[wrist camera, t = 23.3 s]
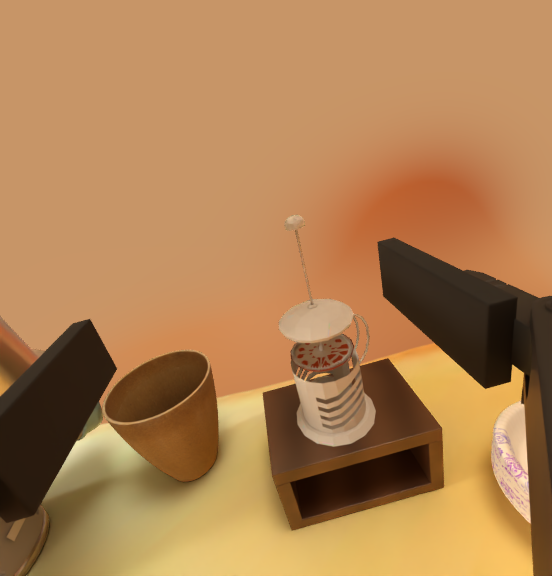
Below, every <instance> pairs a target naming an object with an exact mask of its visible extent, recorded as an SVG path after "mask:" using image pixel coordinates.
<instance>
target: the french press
mask: <svg viewBox="0 0 552 576" xmlns="http://www.w3.org/2000/svg"><path fill="white" fill-rule="evenodd" d="M303 226H305V221H304V219H303V218H302V217H300V216H299V215H293V216H290V217H289V218H287V220H286V221H285V228H286V230H295V232H296V237H297V241H298V245H299V250H300V255H301V259H302V264H303V269H304V273H305V278H306V283H307V287H308V292H309V297H310V300H308V301H306V302H303V303H301V304H299V305H296V306H294V307H292V308H291V309H290V310H289V311H287V312H286V313H285V314H284V315H283V316H282V318H281V319H280V321H279V330H280V331H281V332H282V334H283V335H284V336H285V337H286V338H287V339H290V340H293V341H295V342H297V343H296V344H295V345H294V347H293V348H292V350H291V367H292V372H293V376H294V380H295V383H296V387H297V391H298V395H299V398H300V402H301V403H300V406H299V408H298V411H297V423H298V426H299V428H300V429H301V431H302V432H303V434H304V435H305V436H306V437H308V438H309V439H311V440H313V441H314V442H316V443H317V444H323V445H328V446H333V447H334V446H340V445H346V444H351V443H353V442H355V441H357V440H358V439H360V438H362V437H364V436H365V435H366V434H367V432H368V431H369V430H370V428H371V427H372V426H373V424H374V420H375V413H376V410H375V407H374V405H373V402H372V400H371V398H369V397H368V396H367V395H366V394H365V393H364V389H363V383H362V376H361V370H360V363H361V362H362V360H363V359H364V357H365V355H366V353H367V351H368V345H369V330H368V325H367V323H366V321H365V320H364V318H363V317H362V316H360V315H358V314H353V312H352V310H351V308H350V307H349V306H347V305H346V304H344V303H342V302H339V301H336V300H332V299H312V297H311V293H310V288H309V284H308V278H307V274H306V269H305V264H304V260H303V255H302V250H301V245H300V241H299V236H298V231H297V229H299V228H302V227H303ZM355 316H357V317H359V318H361V319H362V321H363V322H364V324H365V326H366V331H367V344H366V350H365V352H364V354H363V356H362V358H361V360H360V361H359V358H358V355H357V352H356V347H357V344H358V340H359V327H358V322H357V320H356V318H355ZM352 319H354V321H355V323H356V328H357V340H356V346H355V348H354V345H353V343H352V340H351V339H350V338H348V337H347V336H346V335H344V334H342V333H343V332H344V331H345V330H346V329H347V328H348V327H349V326H350V324H351V321H352ZM351 357H352V362H353V368H354V370H353V371H352V372H351V373H350V369H349V364H348V361H349V360H350V358H351ZM298 367H300V371H299V373H298V376H296V372H297V369H298ZM303 369H305V372H304V374H303V376H302V378H301V379H300V375H301V373H302V371H303ZM309 371H314V372H312V373H311V374H309V376H308V378H307V380H306V381H304V379H305V376H306V374H307V372H309ZM320 373H330V374H333V375H334V377H330V376H323V377H317V378H316V379H315V380H313V381H312V382H309V380H310V379H311V378H312V377H314V376H315V375H316V374H320ZM354 378H355V380H356V382H355V383H354V385H353V386H352V381H353V379H354ZM356 387H357V388H356Z"/></svg>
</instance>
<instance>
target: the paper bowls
mask: <svg viewBox="0 0 552 576" xmlns="http://www.w3.org/2000/svg"><path fill="white" fill-rule="evenodd" d="M491 459H492V467H493V471H494V475H495V477H496V479H497V482H498V484H499V486H500V488H501V489H502V491H503V493H504V494H505V496H506V497H507V498H508V500H509V501H510V502H511V504H512V505H513V506H514V507H515V508H516V510H517V511H518V512H519V513H520V514H521V515H522V516H523V517H524V518H525V519H526V520H527V521H528V522H529V523H530V524H531V519H530V501H529V483H528V464H527V446H526V427H525V409H524V404H521V401H519V402H516V403H514V404H512V405H510V406H509V407H507V408H506V409H504V410H503V411H502V412H501V413H500V415H499V416H498V418H497V420H496V422H495V424H494V428H493V440H492V451H491Z"/></svg>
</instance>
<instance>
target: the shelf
mask: <svg viewBox="0 0 552 576" xmlns="http://www.w3.org/2000/svg"><path fill="white" fill-rule="evenodd" d="M353 370H354V368H351V369H350V373H351V372H352V371H353ZM360 370H361V376H362V383H363V389H364V393H365V394H366V395H367V396H368V397H369V398H371V400H372V402H373V405H374V407H375V410H376V413H375V420H374V424H373V426H372V427H371V428H370V430H369V431H368V432H367V434H366V435H365V436H364V437H362V438H360V439H358V440H357V441H355V442H353V443H351V444H346V445H340V446H334V447H333V446H328V445H323V444H317V443H316V442H314V441H313V440H311V439H309V438H308V437H306V436H305V435H304V434H303V432H302V431H301V429H300V428H299V426H298V423H297V411H298V408H299V406H300V403H301V402H300V398H299V395H298V391H297V387H296V384H293V385H289V386H286V387H282V388H278V389H275V390H271V391H267V392H264V393H263V400H264V409H265V418H266V426H267V435H268V444H269V453H270V461H271V470H272V477H273V479H274V482H275V485H276V488H277V491H278V493H279V496H280V499H281V502H282V504H283V507H284V510H285V513H286V515H287V518H288V521H289V524H290V527H291V529H292V530H295V529H299V528H302V527H305V526H309V525H312V524H316V523H319V522H323V521H327V520H330V519H334V518H337V517H341V516H344V515H348V514H351V513H355V512H358V511H362V510H365V509H369V508H372V507H376V506H379V505H383V504H387V503H390V502H394V501H397V500H401V499H404V498H408V497H411V496H415V495H418V494H422V493H425V492H429V491H433V490H436V489H440V488H443V487H444V472H443V442H442V427H441V426H440V425H439V424H438V422H437V421H436V420H435V418H434V417H433V416H432V415H431V413H430V412H429V411H428V409H427V408H426V407H425V405H424V404H423V403H422V402H421V400H420V399H419V398H418V396H417V395H416V394H415V393H414V391H413V390H412V389H411V387H410V386H409V385H408V383H407V382H406V381H405V380H404V378H403V377H402V376H401V374H400V373H399V372H398V371H397V369H396V368H395V367H394V365H393V364H392V363H391V361H390V360H389V359H384V360H380V361H377V362H373V363H369V364H366V365H362V366H360ZM326 376H330V377H334V375H333V374H329V375H326ZM322 377H323V376H322ZM315 379H316V378H315ZM315 379H311V380H309V382H312V381H313V380H315ZM355 382H356V380H355V378H354V379H353V381H352V386H353V385H354V383H355ZM356 388H357V387H356Z"/></svg>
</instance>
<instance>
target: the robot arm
mask: <svg viewBox="0 0 552 576" xmlns="http://www.w3.org/2000/svg"><path fill="white" fill-rule="evenodd" d="M378 251H379V261H380V270H381V279H382V288H383V296H384V297H385V298H386V299H387V300H388V301H389V302H390V303H391V304H392V305H394V306H395V307H396V308H397V309H398V310H399V311H400V312H401V313H402V314H403V315H405V316H406V317H407V318H408V319H409V320H410V321H411V322H412V323H413V324H414V325H416V326H417V327H418V328H419V329H420V330H421V331H422V332H423V333H424V334H425V335H427V336H428V337H429V338H430V339H431V340H432V341H433V342H434V343H435V344H436V345H438V346H439V347H440V348H441V349H442V350H443V351H444V352H445V353H446V354H447V355H449V356H450V357H451V358H452V359H453V360H454V361H455V362H456V363H457V364H458V365H460V366H461V367H462V368H463V369H464V370H465V371H466V372H467V373H468V374H469V375H471V376H472V377H473V378H474V379H475V380H476V381H477V382H478V383H479V384H480V385H482V386H483V387H484V388H485V389H486V388H490V387H494V386H497V385H501V384H504V383H508V382H511V371H512V364H513V365H514V366H515V367H517V368H518V369H519V370H521V371H522V372H524V379H523V389H522V398H521V404H524V409H525V427H526V446H527V464H528V483H529V501H530V519H531V538H532V556H533V575H534V576H552V296H548V297H542V298H538V297H536V296H533V295H531V294H529V293H527V292H524V291H522V290H520V289H518V288H516V287H513V286H511V285H509V284H508V285H506V283H504V282H502V281H500V280H496V278H493V277H491V276H489V275H487V274H484V273H480V272H476V271H471V270H465V271H462V270H460V269H458V268H456V267H454V266H452V265H450V264H448V263H446V262H443V261H442V260H439V259H437V258H435V257H433V256H431V255H429V254H427V253H425V252H423V251H421V250H419V249H416V248H414V247H412V246H410V245H408V244H406V243H404V242H402V241H400V240H398V239H396V238H391V239H387V240H383V241H379V242H378ZM116 370H117V368H116V366H115V364H114V362H113V360H112V358H111V357H110V355H109V353H108V351H107V350H106V347H105V346H104V344H103V342H102V340H101V338H100V336H99V335H98V333H97V331H96V329H95V327H94V326H93V324H92V322H91V320H90V319H88V320H84V321H81V322H77V323H73V324H72V325H71V326H70V327H69V328H68V329H67V330H66V331H65V332H64V333H63V334H62V335H61V336H60V337H59V338H58V339H57V340H56V341H55V342H54V343H53V344H52V345H51V346H50V347H49V348H48V349H47V350H46V351H43V350H36V349H30V347H29V346H28V345H27V344H26V343H25V342H24V341H23V340H22V339H21V338H20V337H19V336H18V335H17V333H16V332H15V331H14V330H13V329H12V328H11V327H10V326H9V325H8V324H7V323H6V322H5V321H4V320H3V319H2V317H1V316H0V576H25V575H26V574H27V572H28V571H29V570H30V568H31V567H32V565H33V564H34V562H35V560H36V559H37V557H38V555H39V553H40V552H41V550H42V548H43V545H44V543H45V541H46V538H47V535H48V531H49V524H50V522H49V515H48V513H47V512H46V510H45V509H44V508H43V507H42V505H41V502H42V500H43V499H44V497H45V495H46V493H47V492H48V490H49V488H50V486H51V485H52V483H53V481H54V479H55V478H56V476H57V474H58V472H59V470H60V469H61V467H62V465H63V463H64V462H65V460H66V458H67V456H68V455H69V453H70V451H71V449H72V447H73V446H74V444H75V442H76V441H78V440H80V439H82V438H83V437H85V436H86V434H87V433H89V432H90V431H92V430H93V429H95V428H96V427H98V426H99V425H100V423H101V422H102V420H103V413H102V408H101V406H100V403H99V400H100V398H101V396H102V395H103V393H104V391H105V389H106V387H107V386H108V384H109V382H110V380H111V379H112V377H113V375H114V373H115V372H116Z"/></svg>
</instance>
